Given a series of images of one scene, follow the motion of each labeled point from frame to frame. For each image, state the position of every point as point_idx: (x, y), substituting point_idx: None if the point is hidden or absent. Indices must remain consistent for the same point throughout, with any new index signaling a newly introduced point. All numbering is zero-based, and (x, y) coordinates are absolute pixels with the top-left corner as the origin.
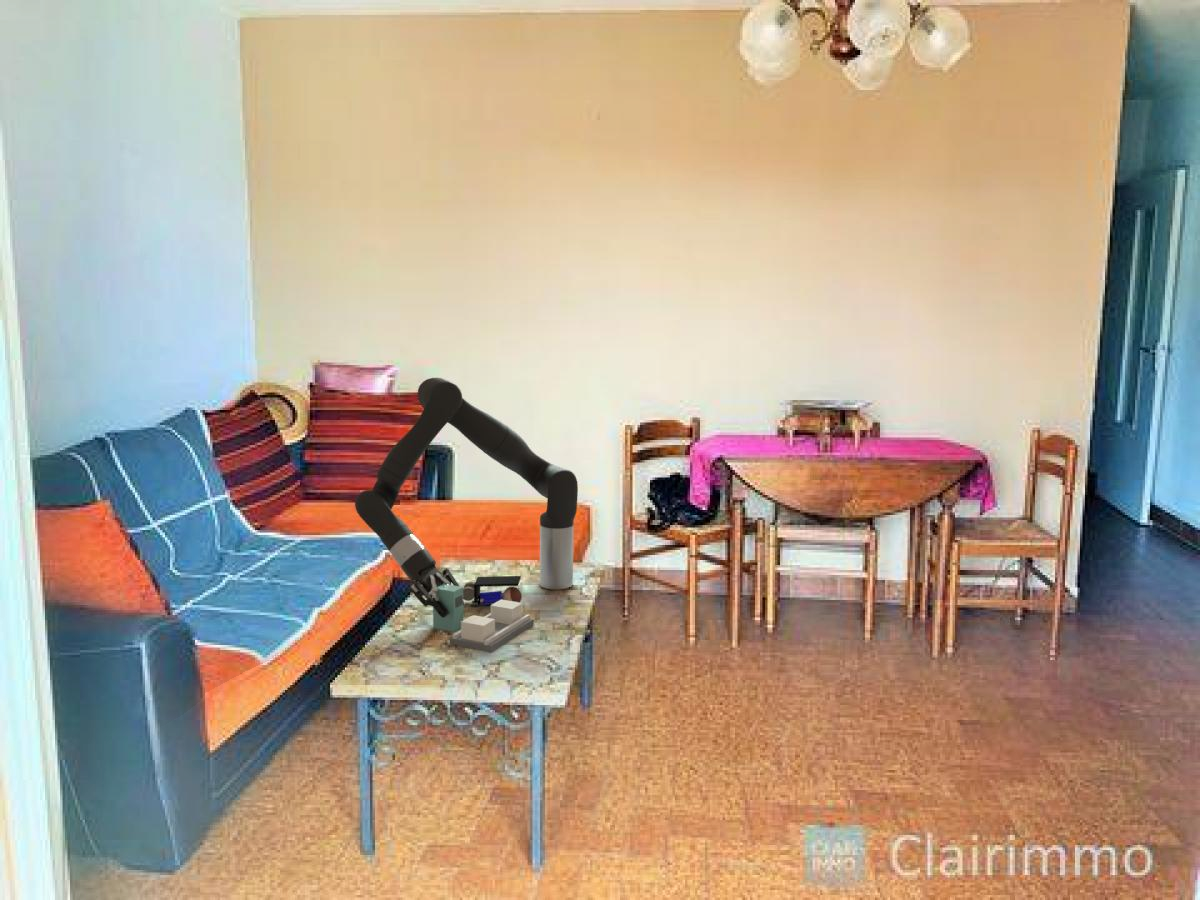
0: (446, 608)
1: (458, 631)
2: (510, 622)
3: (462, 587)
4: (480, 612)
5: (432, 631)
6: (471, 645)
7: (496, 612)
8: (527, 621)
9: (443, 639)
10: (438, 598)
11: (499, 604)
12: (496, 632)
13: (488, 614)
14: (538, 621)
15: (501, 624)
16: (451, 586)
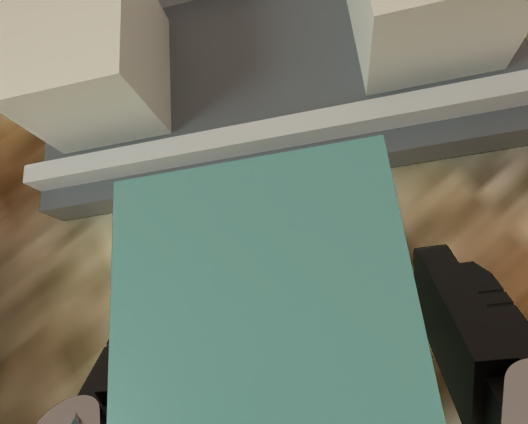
0: (429, 270)
1: (491, 95)
2: (163, 19)
3: (132, 180)
4: (12, 348)
5: (446, 394)
6: None
7: (143, 62)
8: None
9: (504, 227)
10: (515, 383)
11: (80, 42)
12: (300, 1)
13: (127, 160)
14: None
15: (187, 59)
16: (177, 366)
